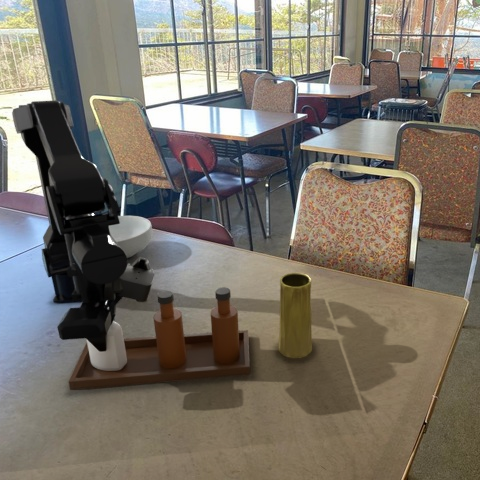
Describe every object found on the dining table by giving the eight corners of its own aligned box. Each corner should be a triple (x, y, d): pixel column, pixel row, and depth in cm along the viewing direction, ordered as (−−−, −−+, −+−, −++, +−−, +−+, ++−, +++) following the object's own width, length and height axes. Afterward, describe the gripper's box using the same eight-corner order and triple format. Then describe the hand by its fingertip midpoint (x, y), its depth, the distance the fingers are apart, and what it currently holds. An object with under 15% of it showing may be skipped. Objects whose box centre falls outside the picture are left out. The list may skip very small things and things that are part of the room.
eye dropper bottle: (105, 378, 77) (93, 314, 72) (88, 363, 80) (76, 301, 75) (130, 365, 80) (121, 303, 75) (113, 351, 83) (103, 291, 78)
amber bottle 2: (213, 365, 80) (208, 298, 75) (214, 349, 84) (209, 285, 79) (239, 363, 81) (236, 296, 76) (239, 347, 85) (236, 283, 80)
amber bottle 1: (157, 369, 79) (148, 302, 74) (161, 353, 83) (152, 288, 78) (185, 367, 80) (177, 300, 74) (187, 351, 84) (180, 286, 78)
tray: (70, 392, 74) (68, 381, 74) (89, 351, 84) (87, 341, 83) (250, 377, 79) (249, 366, 78) (248, 339, 88) (247, 329, 88)
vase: (286, 364, 82) (286, 291, 76) (272, 345, 87) (271, 275, 81) (318, 355, 85) (320, 284, 79) (303, 336, 90) (304, 268, 84)
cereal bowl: (95, 240, 127) (91, 215, 124) (160, 239, 129) (157, 214, 126) (72, 269, 112) (66, 241, 109) (146, 267, 113) (142, 240, 111)
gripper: (135, 283, 65) (148, 376, 71) (155, 230, 81) (165, 309, 88) (46, 287, 63) (68, 382, 69) (86, 232, 80) (100, 313, 86)
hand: (106, 342), depth 78 cm, fingers closed on eye dropper bottle, 4 cm apart
